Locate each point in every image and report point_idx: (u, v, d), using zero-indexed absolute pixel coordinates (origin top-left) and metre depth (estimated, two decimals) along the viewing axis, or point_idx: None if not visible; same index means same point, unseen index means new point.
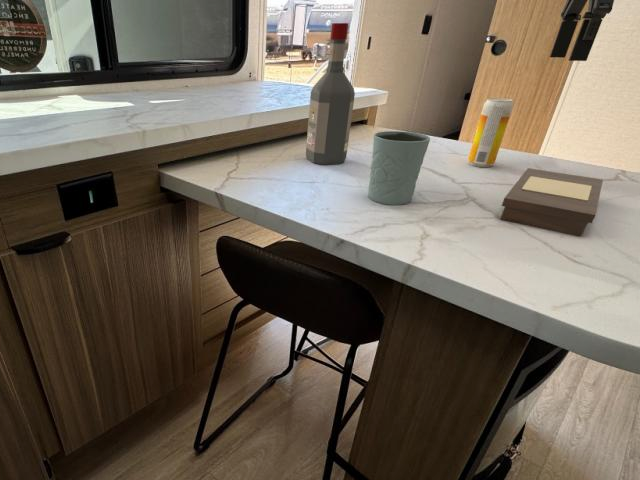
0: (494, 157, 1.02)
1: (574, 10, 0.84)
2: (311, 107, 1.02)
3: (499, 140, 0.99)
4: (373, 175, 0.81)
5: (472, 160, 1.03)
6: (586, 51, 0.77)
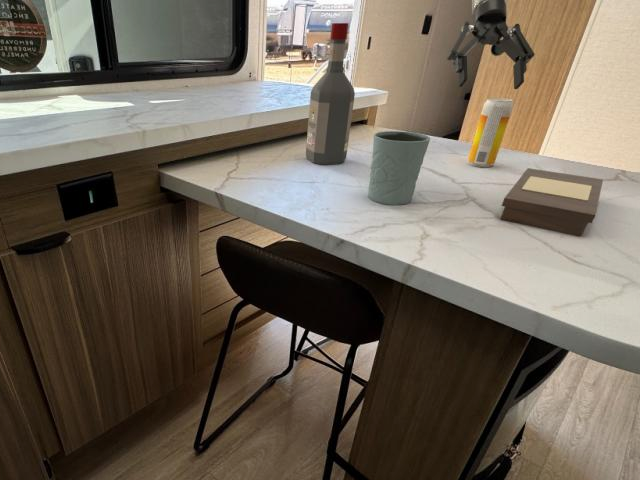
0: (494, 157, 1.02)
1: (514, 56, 1.04)
2: (311, 107, 1.02)
3: (499, 140, 0.99)
4: (373, 175, 0.81)
5: (472, 160, 1.03)
6: (463, 75, 1.02)
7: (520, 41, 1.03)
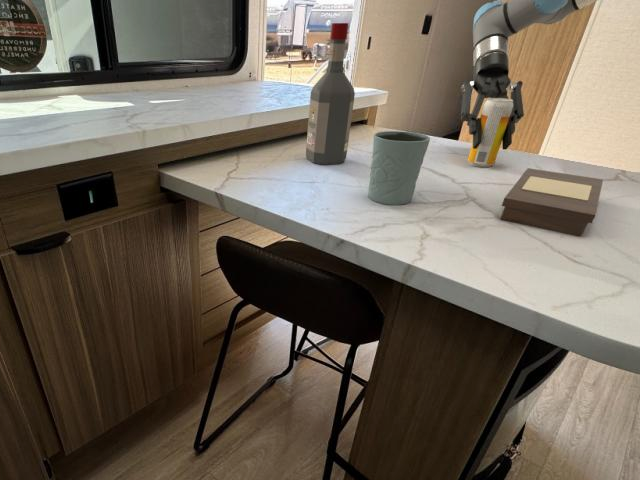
0: (494, 157, 1.02)
1: None
2: (311, 107, 1.02)
3: (499, 140, 0.99)
4: (373, 175, 0.81)
5: (472, 160, 1.03)
6: (476, 137, 0.99)
7: (516, 99, 1.00)
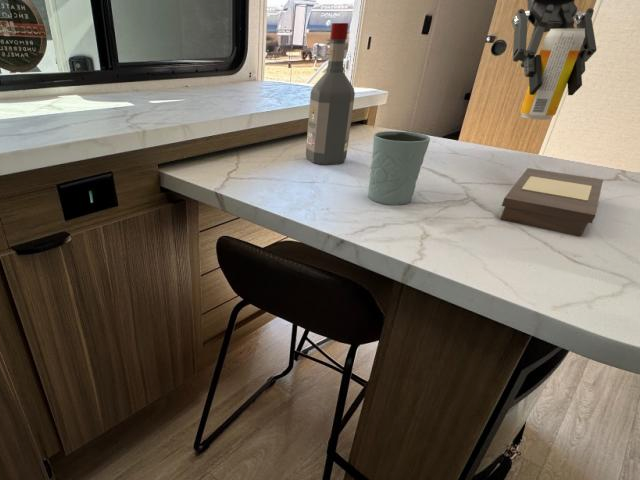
0: (556, 106, 0.80)
1: None
2: (311, 107, 1.02)
3: (564, 83, 0.78)
4: (373, 175, 0.81)
5: (527, 111, 0.82)
6: (535, 79, 0.78)
7: (585, 30, 0.78)
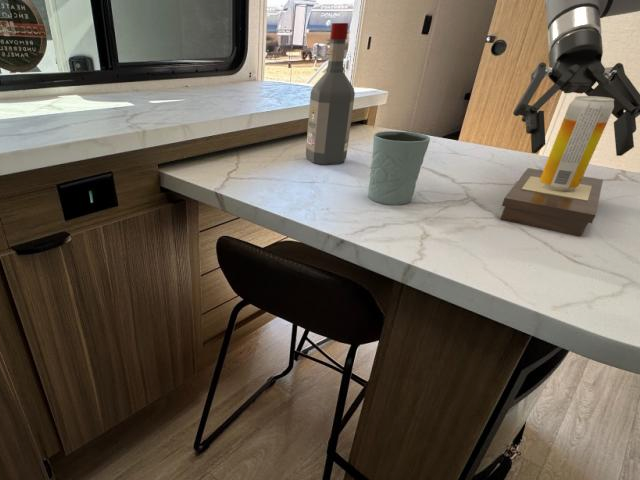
0: (580, 178, 0.73)
1: (615, 108, 0.72)
2: (311, 107, 1.02)
3: (590, 155, 0.71)
4: (373, 175, 0.81)
5: (548, 181, 0.75)
6: (538, 138, 0.71)
7: (625, 88, 0.72)
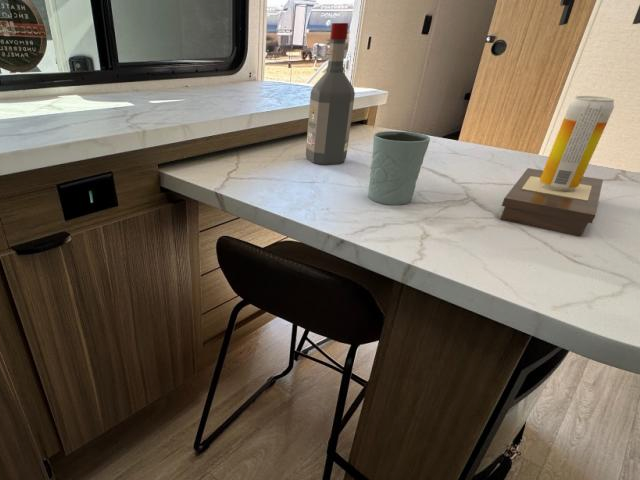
0: (580, 178, 0.73)
1: None
2: (311, 107, 1.02)
3: (590, 155, 0.71)
4: (373, 175, 0.81)
5: (548, 181, 0.75)
6: (565, 15, 0.88)
7: None
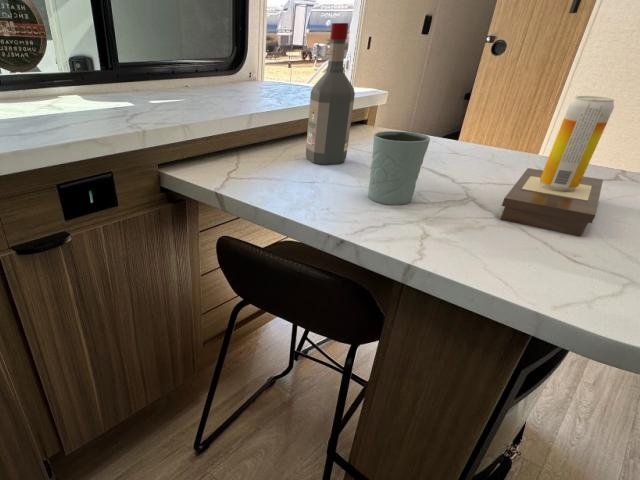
0: (580, 178, 0.73)
1: None
2: (311, 107, 1.02)
3: (590, 155, 0.71)
4: (373, 175, 0.81)
5: (548, 181, 0.75)
6: (574, 4, 0.89)
7: None
